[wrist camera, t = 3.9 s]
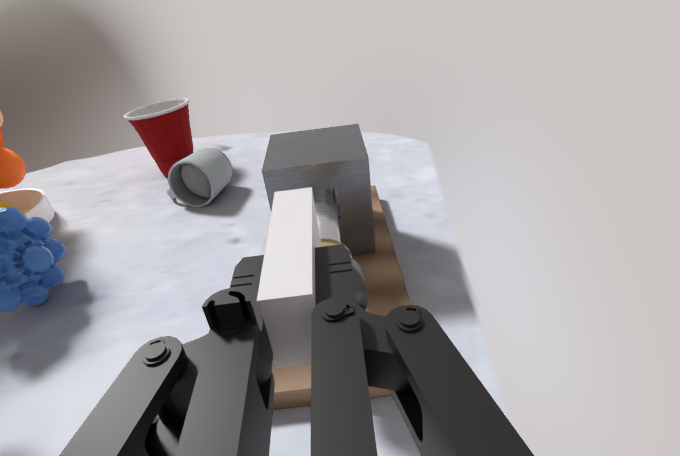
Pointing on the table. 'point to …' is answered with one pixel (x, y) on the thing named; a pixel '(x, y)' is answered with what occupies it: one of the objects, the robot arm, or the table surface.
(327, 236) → the shaft
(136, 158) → the table surface
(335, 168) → the bearing block
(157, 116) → the plastic cup
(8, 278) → the grapes
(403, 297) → the base plate
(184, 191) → the ceramic mug
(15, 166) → the potted cactus
